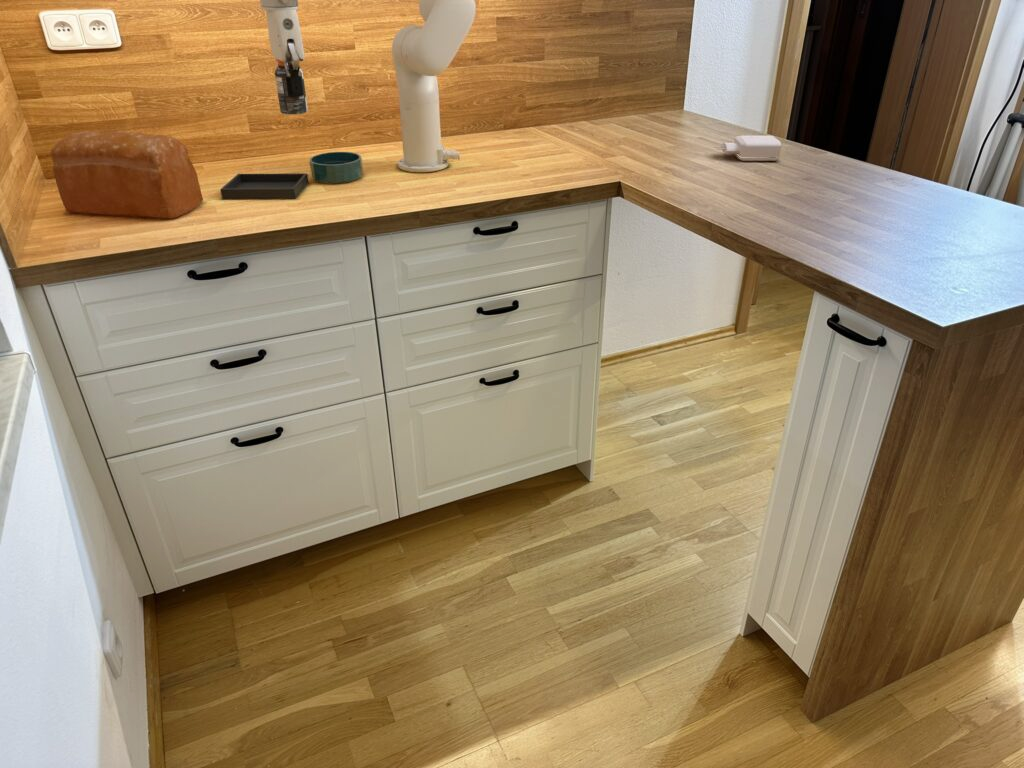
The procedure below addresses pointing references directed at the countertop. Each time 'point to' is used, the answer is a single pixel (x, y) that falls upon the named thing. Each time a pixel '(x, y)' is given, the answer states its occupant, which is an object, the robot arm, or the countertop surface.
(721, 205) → the countertop surface
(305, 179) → the tray
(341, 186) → the countertop surface
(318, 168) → the bowl
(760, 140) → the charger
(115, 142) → the bread
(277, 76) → the pill bottle
